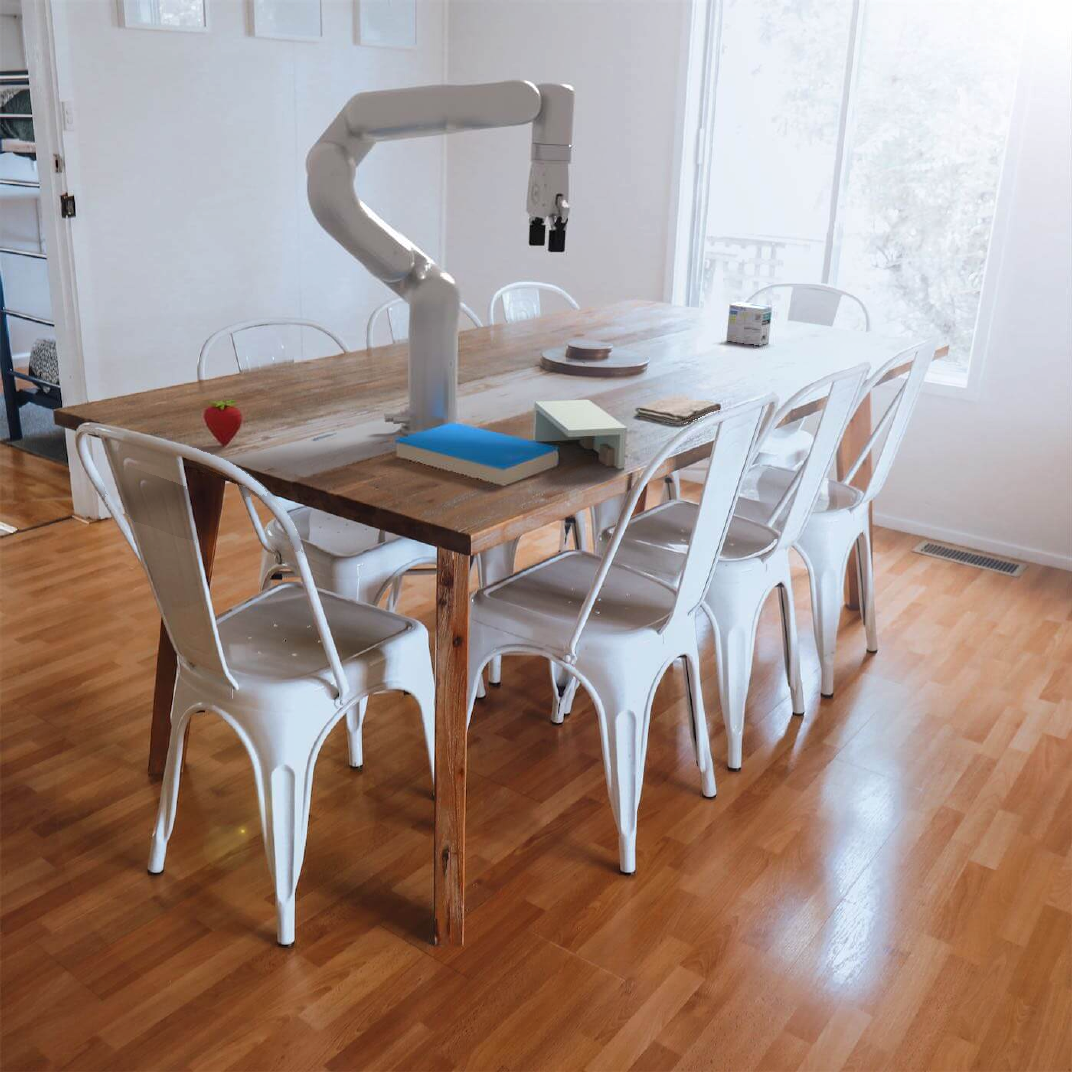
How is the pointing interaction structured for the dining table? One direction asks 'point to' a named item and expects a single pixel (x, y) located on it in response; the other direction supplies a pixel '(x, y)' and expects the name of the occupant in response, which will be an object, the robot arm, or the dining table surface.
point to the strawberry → (223, 420)
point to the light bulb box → (749, 323)
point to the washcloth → (676, 410)
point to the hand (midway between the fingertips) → (546, 248)
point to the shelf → (581, 428)
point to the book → (478, 453)
